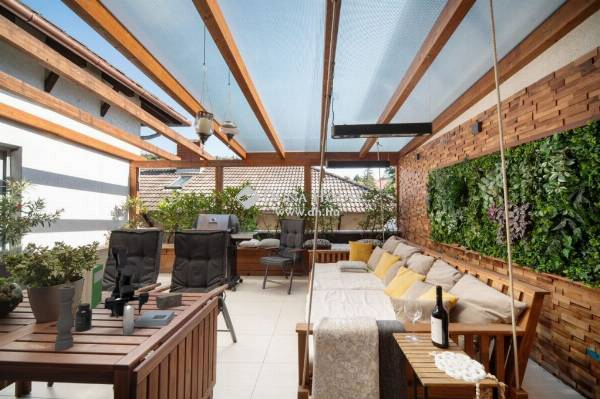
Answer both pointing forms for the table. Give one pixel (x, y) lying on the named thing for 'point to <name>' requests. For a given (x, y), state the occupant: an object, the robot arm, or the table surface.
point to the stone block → (168, 300)
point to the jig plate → (154, 318)
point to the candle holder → (65, 319)
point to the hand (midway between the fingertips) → (128, 315)
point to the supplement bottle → (83, 317)
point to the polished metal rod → (128, 319)
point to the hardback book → (92, 286)
